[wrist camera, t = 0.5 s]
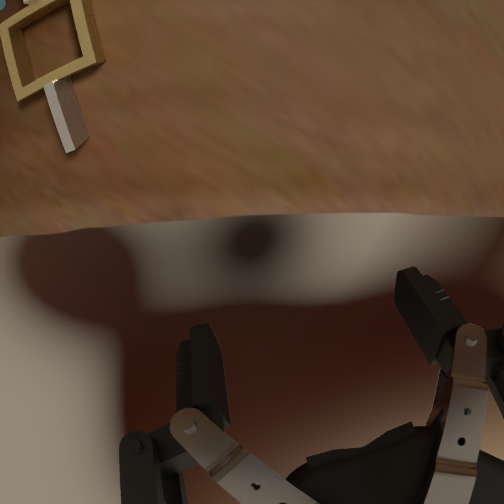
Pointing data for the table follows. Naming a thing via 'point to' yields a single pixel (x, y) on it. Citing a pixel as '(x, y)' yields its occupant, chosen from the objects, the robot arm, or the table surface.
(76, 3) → the square frame with handle
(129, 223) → the table surface
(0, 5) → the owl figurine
